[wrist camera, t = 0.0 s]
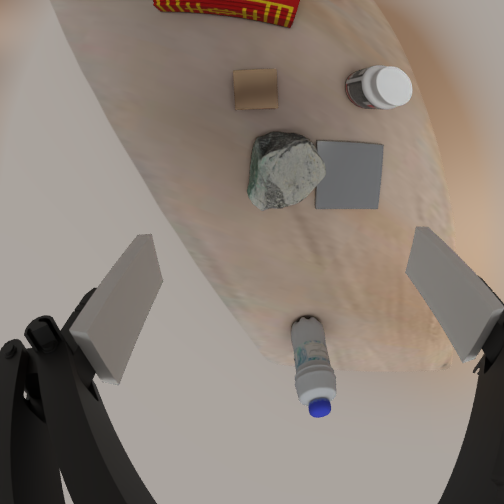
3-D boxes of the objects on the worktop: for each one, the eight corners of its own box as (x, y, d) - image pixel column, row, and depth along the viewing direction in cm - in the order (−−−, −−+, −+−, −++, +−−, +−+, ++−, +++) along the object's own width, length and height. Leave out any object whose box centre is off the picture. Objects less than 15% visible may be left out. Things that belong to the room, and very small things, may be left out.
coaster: (316, 140, 35) (317, 141, 34) (381, 144, 35) (383, 145, 34) (314, 207, 40) (315, 209, 39) (375, 207, 40) (377, 209, 39)
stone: (311, 174, 40) (347, 159, 30) (271, 223, 39) (299, 220, 29) (265, 130, 38) (290, 102, 28) (220, 177, 37) (232, 159, 27)
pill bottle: (377, 113, 33) (411, 117, 24) (341, 102, 32) (368, 101, 24) (383, 78, 30) (419, 73, 21) (347, 65, 29) (375, 54, 21)
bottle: (329, 317, 51) (351, 406, 33) (311, 339, 54) (326, 425, 37) (299, 308, 50) (313, 403, 32) (282, 332, 53) (289, 422, 35)
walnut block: (236, 75, 31) (232, 70, 27) (273, 74, 31) (276, 68, 26) (238, 110, 33) (235, 109, 29) (275, 108, 33) (278, 108, 29)
